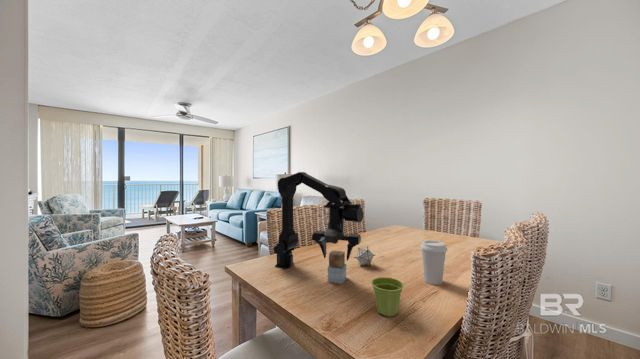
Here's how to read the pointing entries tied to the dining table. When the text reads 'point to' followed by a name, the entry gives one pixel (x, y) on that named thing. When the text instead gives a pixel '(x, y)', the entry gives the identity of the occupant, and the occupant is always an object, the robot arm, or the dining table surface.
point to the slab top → (337, 270)
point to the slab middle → (337, 275)
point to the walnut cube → (337, 259)
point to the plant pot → (387, 295)
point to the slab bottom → (337, 280)
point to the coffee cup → (433, 261)
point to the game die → (364, 256)
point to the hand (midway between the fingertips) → (336, 258)
